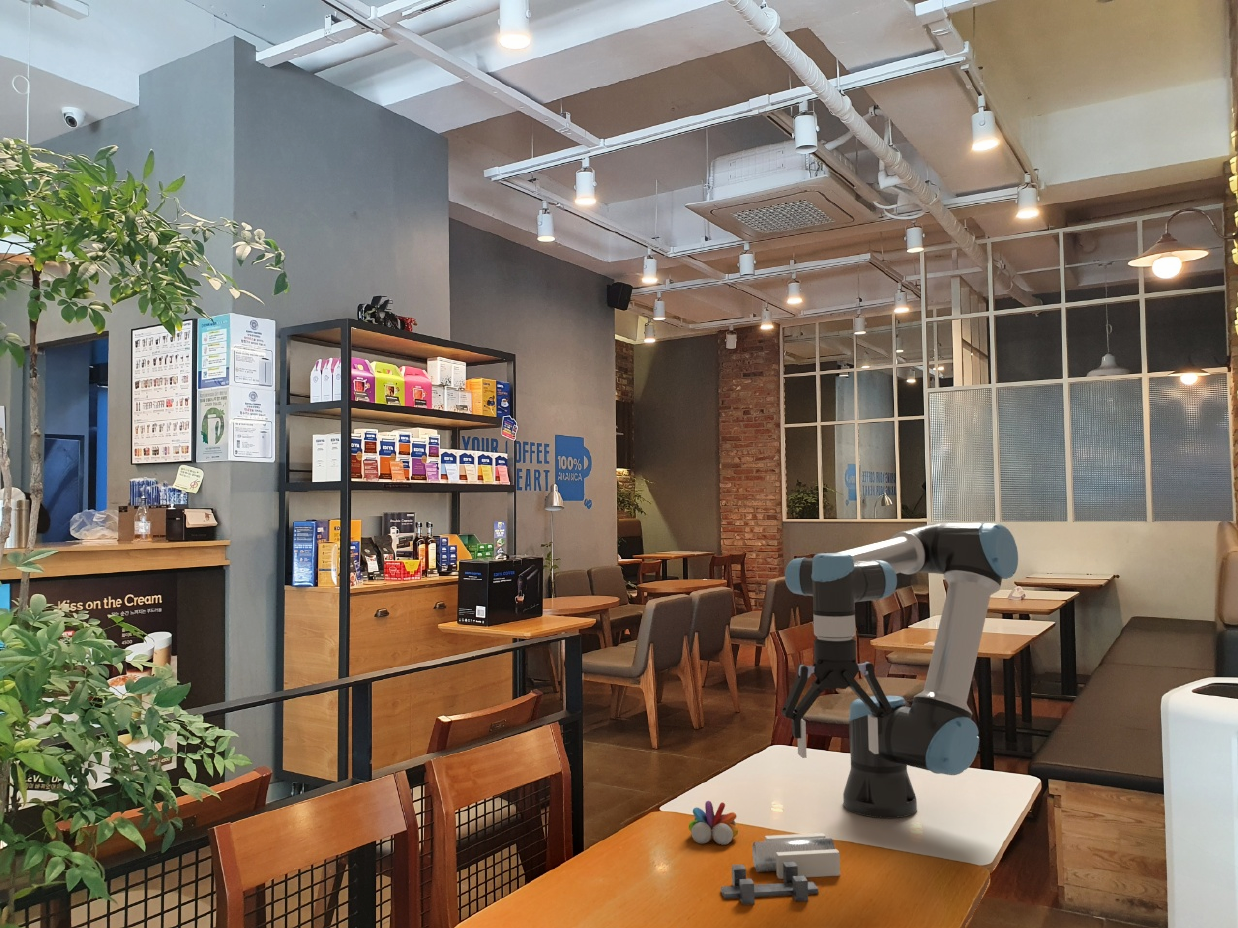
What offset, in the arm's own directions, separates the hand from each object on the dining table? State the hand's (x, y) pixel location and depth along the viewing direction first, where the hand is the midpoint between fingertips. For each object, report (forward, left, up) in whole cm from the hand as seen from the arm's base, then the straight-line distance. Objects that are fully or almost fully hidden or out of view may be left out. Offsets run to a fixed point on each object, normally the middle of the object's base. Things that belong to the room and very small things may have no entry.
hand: (838, 753), depth 168 cm
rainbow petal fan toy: (+21, -14, -20) cm, 32 cm away
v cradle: (+16, +12, -19) cm, 28 cm away
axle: (+9, +2, -17) cm, 19 cm away
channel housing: (+8, +2, -19) cm, 21 cm away
